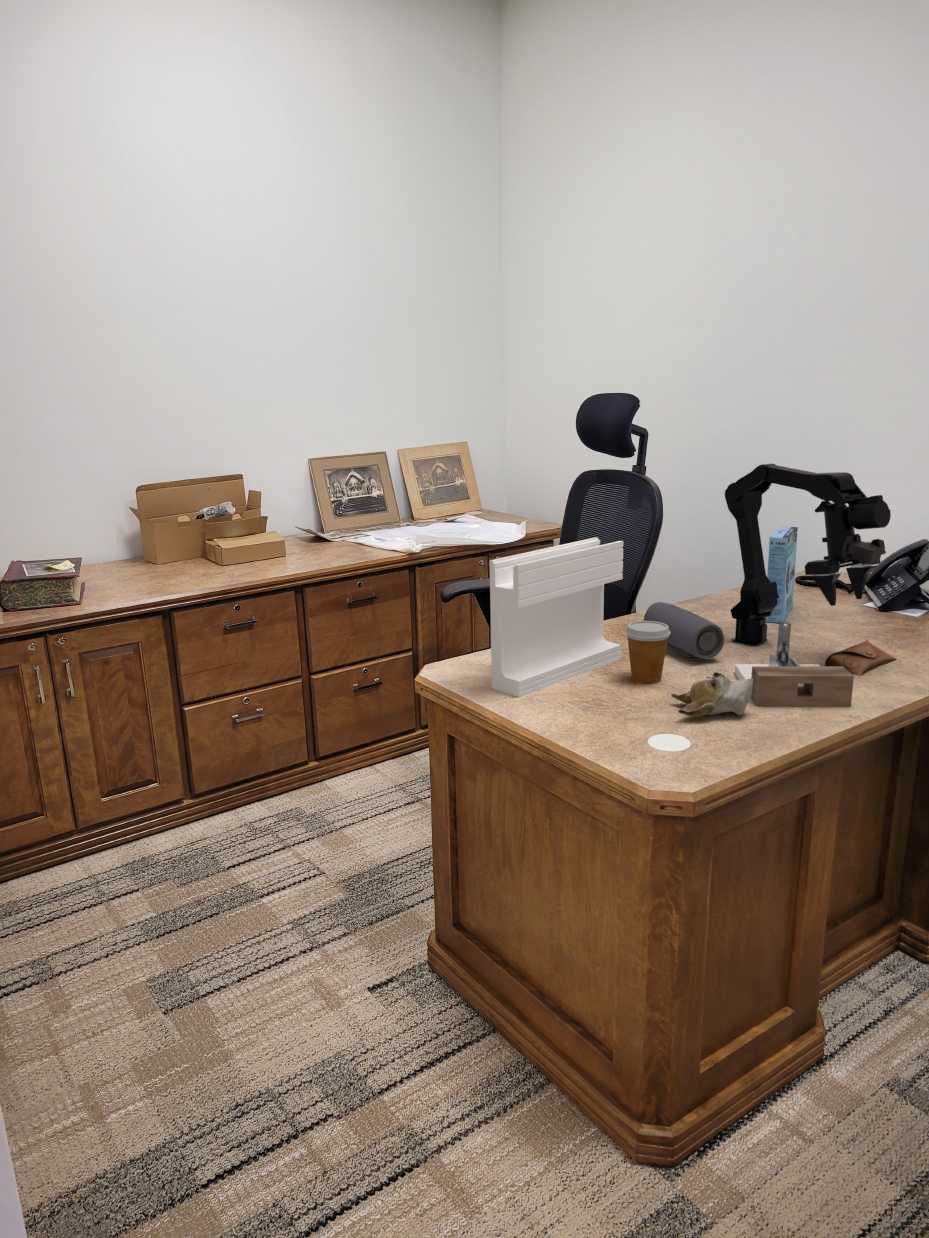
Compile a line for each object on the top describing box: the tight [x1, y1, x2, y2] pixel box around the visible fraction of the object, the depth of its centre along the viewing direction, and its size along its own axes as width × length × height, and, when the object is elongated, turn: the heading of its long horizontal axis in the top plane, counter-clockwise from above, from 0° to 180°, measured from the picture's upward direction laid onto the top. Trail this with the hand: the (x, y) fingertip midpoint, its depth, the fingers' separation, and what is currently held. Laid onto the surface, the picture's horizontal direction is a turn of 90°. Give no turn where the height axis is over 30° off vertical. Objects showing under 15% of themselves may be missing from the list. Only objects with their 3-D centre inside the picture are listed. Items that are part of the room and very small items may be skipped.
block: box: [489, 537, 624, 698], centre depth 192 cm, size 35×8×28 cm, turn 134°
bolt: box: [776, 621, 793, 666], centre depth 184 cm, size 8×2×10 cm, turn 176°
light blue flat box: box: [764, 526, 799, 624], centre depth 236 cm, size 20×5×23 cm, turn 152°
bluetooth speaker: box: [643, 601, 726, 660], centre depth 208 cm, size 23×9×10 cm, turn 18°
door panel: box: [733, 654, 821, 687], centre depth 186 cm, size 11×18×5 cm, turn 86°
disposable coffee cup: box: [625, 620, 670, 684], centre depth 189 cm, size 10×10×12 cm
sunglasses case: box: [824, 639, 897, 677], centre depth 197 cm, size 18×7×7 cm
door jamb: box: [751, 665, 855, 707], centre depth 175 cm, size 6×18×6 cm, turn 86°
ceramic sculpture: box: [670, 672, 753, 718], centre depth 169 cm, size 11×9×15 cm
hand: (846, 602), depth 191 cm, fingers open, 9 cm apart
